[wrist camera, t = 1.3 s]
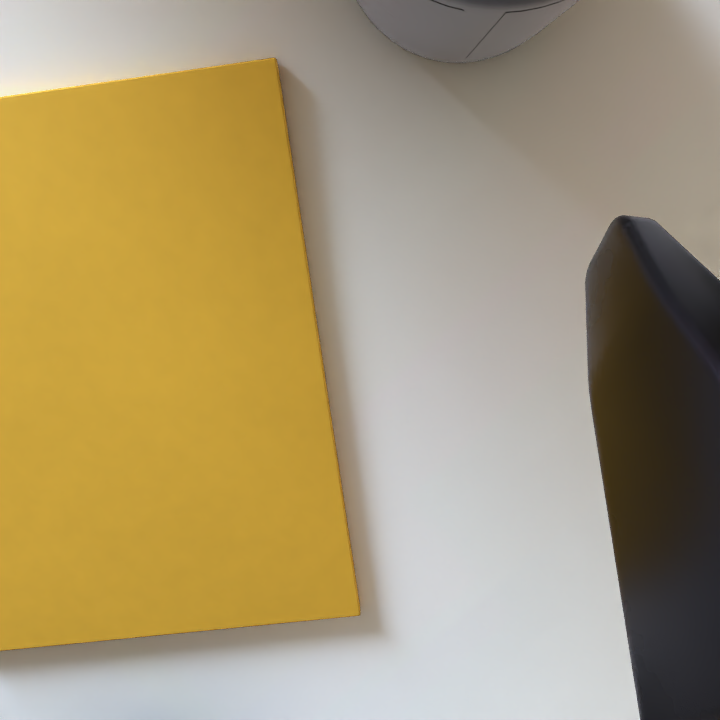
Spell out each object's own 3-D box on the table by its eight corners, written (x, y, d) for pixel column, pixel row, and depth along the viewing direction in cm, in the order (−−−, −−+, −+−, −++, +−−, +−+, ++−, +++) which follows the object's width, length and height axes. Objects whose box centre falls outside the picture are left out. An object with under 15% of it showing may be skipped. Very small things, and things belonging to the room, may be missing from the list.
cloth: (360, 609, 25) (360, 615, 25) (-28, 647, 26) (-34, 654, 26) (277, 58, 20) (275, 57, 20) (-210, 129, 21) (-221, 128, 20)
